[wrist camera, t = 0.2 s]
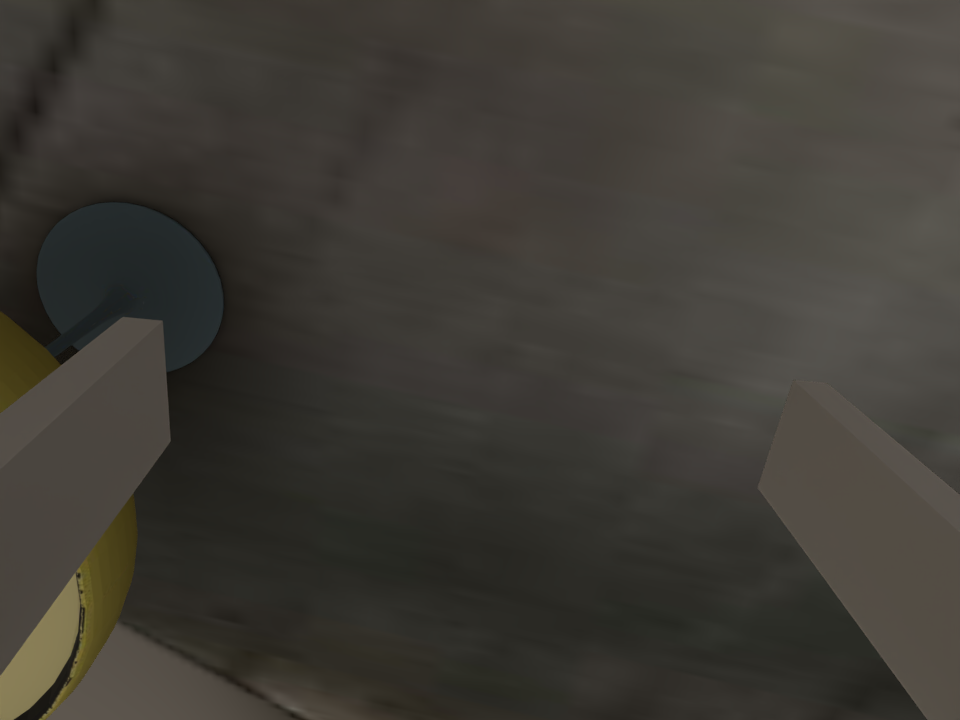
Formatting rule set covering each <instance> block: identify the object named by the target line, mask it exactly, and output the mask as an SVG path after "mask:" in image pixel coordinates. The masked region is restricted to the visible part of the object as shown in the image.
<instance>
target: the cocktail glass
mask: <svg viewBox="0 0 960 720" xmlns="http://www.w3.org/2000/svg"><path fill="white" fill-rule="evenodd" d="M37 285H38V290H39V294H40V298H41V301H42V303H43V306H44V308H45V311H46V313H47V314H48V316H49V318H50V319H51V321H52V323H53V324H54V326H55V327H56V328H57V330H58V331H59V332H60V333H61V336H59V337H58V338H57V339H55V340H54V341H53V342H51V343H50V344H49V345H47V346H46V347H45V348H44V347H43V346H42V345H41V344H40V343H39V342H37V341H36V340H35V339H34V338H33V337H31V336H30V335H29V334H28V333H27V332H25V331H24V330H23V329H22V328H21V327H20V326H18V325H17V324H16V323H15V322H14V321H12V320H11V319H10V318H9V317H8V316H6V315H5V314H3V313H2V312H0V413H1V412H3V411H4V410H5V409H7V408H8V407H9V406H10V405H12V404H13V403H14V402H15V401H17V400H18V399H19V398H20V397H22V396H23V395H24V394H26V393H27V392H28V391H29V390H31V389H32V388H33V387H34V386H36V385H37V384H38V383H39V382H41V381H42V380H43V379H45V378H46V377H47V376H48V375H50V374H51V373H52V372H53V371H55V370H56V369H57V368H58V367H60V366H61V364H60V363H59V362H58V361H57V360H56V359H55V357H56V356H57V355H59V354H60V353H61V352H63V351H64V350H65V349H67V348H68V347H70V346H71V345H72V346H73V347H75V348H76V349H77V350H79V351H80V350H81V349H83V348H84V347H85V346H86V345H88V344H89V343H90V342H91V341H93V340H94V339H95V338H97V337H98V336H99V335H100V334H102V333H103V332H104V331H105V330H107V329H108V328H109V327H110V326H112V325H113V324H114V323H116V322H117V321H118V320H119V319H121V318H122V317H129V318H140V319H150V320H161V321H163V331H164V347H165V362H166V372H169V371H172V370H175V369H179V368H181V367H183V366H185V365H187V364H189V363H191V362H193V361H194V360H195V359H196V358H198V357H199V356H200V355H202V354H203V353H204V351H205V350H206V349H207V348H208V347H209V346H210V345H211V343H212V341H213V340H214V338H215V336H216V334H217V333H218V330H219V327H220V324H221V321H222V317H223V310H224V294H223V289H222V284H221V280H220V277H219V274H218V271H217V269H216V266H215V265H214V263H213V261H212V259H211V257H210V256H209V254H208V252H207V251H206V250H205V248H204V247H203V246H202V245H201V243H200V242H199V241H198V240H197V239H196V238H195V237H194V236H193V235H192V234H191V233H190V232H189V231H188V230H187V229H185V228H184V227H183V226H181V225H180V224H179V223H177V222H176V221H175V220H173V219H171V218H169V217H168V216H166V215H164V214H162V213H160V212H158V211H155V210H153V209H150V208H147V207H145V206H140V205H136V204H131V203H122V202H107V203H97V204H94V205H90V206H86V207H83V208H80V209H78V210H76V211H74V212H72V213H70V214H69V215H67V216H66V217H64V218H63V219H62V220H60V221H59V222H58V223H57V224H56V225H55V226H54V228H53V229H52V230H51V231H50V232H49V234H48V236H47V237H46V239H45V241H44V242H43V244H42V247H41V250H40V253H39V256H38V263H37ZM136 546H137V523H136V513H135V503H134V496H133V494H132V495H131V497H130V498H129V499H128V501H127V502H126V504H125V505H124V506H123V508H122V509H121V510H120V512H119V513H118V515H117V516H116V517H115V519H114V520H113V521H112V523H111V524H110V526H109V527H108V528H107V530H106V531H105V532H104V534H103V535H102V537H101V538H100V539H99V541H98V542H97V544H96V545H95V546H94V548H93V549H92V550H91V552H90V553H89V555H88V556H87V557H86V559H85V560H84V561H83V563H82V564H81V566H80V567H79V568H78V570H77V571H76V572H75V574H74V575H73V577H72V578H71V579H70V581H69V582H68V583H67V585H66V586H65V588H64V589H63V590H62V592H61V593H60V595H59V596H58V597H57V599H56V600H55V601H54V603H53V604H52V606H51V607H50V608H49V610H48V611H47V612H46V614H45V615H44V617H43V618H42V619H41V621H40V622H39V623H38V625H37V626H36V628H35V629H34V630H33V632H32V633H31V634H30V636H29V637H28V639H27V640H26V641H25V643H24V644H23V646H22V647H21V648H20V650H19V651H18V652H17V654H16V655H15V657H14V658H13V659H12V661H11V662H10V663H9V665H8V666H7V668H6V669H5V670H4V672H3V673H2V674H1V676H0V720H46V719H47V718H48V717H49V716H50V715H51V714H52V713H53V711H55V710H56V709H57V707H58V706H59V705H60V704H61V703H62V702H63V701H64V700H65V699H66V698H67V697H68V696H69V695H70V694H71V693H72V692H73V690H74V689H75V688H76V687H77V685H78V684H79V683H80V682H81V680H82V679H83V677H84V676H85V674H86V673H87V671H88V670H89V668H90V667H91V665H92V663H93V662H94V660H95V659H96V657H97V655H98V653H99V652H100V651H101V649H102V647H103V646H104V644H105V643H106V641H107V639H108V638H109V636H110V634H111V632H112V631H113V629H114V627H115V625H116V622H117V620H118V618H119V616H120V613H121V610H122V607H123V604H124V601H125V598H126V595H127V592H128V590H129V587H130V584H131V581H132V576H133V572H134V564H135V555H136Z"/></svg>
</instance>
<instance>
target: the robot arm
mask: <svg viewBox="0 0 960 720" xmlns="http://www.w3.org/2000/svg"><path fill="white" fill-rule="evenodd" d="M170 442H171V438H170V423H169V408H168V393H167V377H166V362H165V347H164V331H163V321H161V320H150V319H140V318H129V317H122V318H121V319H119V320H118V321H117V322H116V323H114V324H113V325H112V326H110V327H109V328H108V329H107V330H105V331H104V332H103V333H102V334H100V335H99V336H98V337H97V338H95V339H94V340H93V341H91V342H90V343H89V344H88V345H86V346H85V347H84V348H83V349H81V350H80V351H79V352H78V353H76V354H75V355H74V356H72V357H71V358H70V359H69V360H67V361H66V362H65V363H64V364H62V365H61V366H60V367H58V368H57V369H56V370H55V371H53V372H52V373H51V374H50V375H48V376H47V377H46V378H45V379H43V380H42V381H41V382H39V383H38V384H37V385H36V386H34V387H33V388H32V389H31V390H29V391H28V392H27V393H26V394H24V395H23V396H22V397H20V398H19V399H18V400H17V401H15V402H14V403H13V404H12V405H10V406H9V407H8V408H7V409H5V410H4V411H3V412H1V413H0V676H1V674H2V673H3V672H4V670H5V669H6V668H7V666H8V665H9V663H10V662H11V661H12V659H13V658H14V657H15V655H16V654H17V652H18V651H19V650H20V648H21V647H22V646H23V644H24V643H25V641H26V640H27V639H28V637H29V636H30V634H31V633H32V632H33V630H34V629H35V628H36V626H37V625H38V623H39V622H40V621H41V619H42V618H43V617H44V615H45V614H46V612H47V611H48V610H49V608H50V607H51V606H52V604H53V603H54V601H55V600H56V599H57V597H58V596H59V595H60V593H61V592H62V590H63V589H64V588H65V586H66V585H67V583H68V582H69V581H70V579H71V578H72V577H73V575H74V574H75V572H76V571H77V570H78V568H79V567H80V566H81V564H82V563H83V561H84V560H85V559H86V557H87V556H88V555H89V553H90V552H91V550H92V549H93V548H94V546H95V545H96V544H97V542H98V541H99V539H100V538H101V537H102V535H103V534H104V532H105V531H106V530H107V528H108V527H109V526H110V524H111V523H112V521H113V520H114V519H115V517H116V516H117V515H118V513H119V512H120V510H121V509H122V508H123V506H124V505H125V504H126V502H127V501H128V499H129V498H130V497H131V495H132V494H133V493H134V491H135V490H136V488H137V487H138V486H139V484H140V483H141V481H142V480H143V479H144V477H145V476H146V475H147V473H148V472H149V470H150V469H151V468H152V466H153V465H154V464H155V462H156V461H157V459H158V458H159V457H160V455H161V454H162V453H163V451H164V450H165V448H166V447H167V446H168V444H169V443H170ZM758 489H759V490H760V491H761V493H762V494H763V496H764V497H765V498H766V500H767V501H768V502H769V504H770V505H771V507H772V508H773V509H774V511H775V512H776V513H777V515H778V516H779V517H780V519H781V520H782V522H783V523H784V524H785V526H786V527H787V528H788V530H789V531H790V532H791V534H792V535H793V537H794V538H795V539H796V541H797V542H798V543H799V545H800V546H801V548H802V549H803V550H804V552H805V553H806V554H807V556H808V557H809V558H810V560H811V561H812V563H813V564H814V565H815V567H816V568H817V569H818V571H819V572H820V573H821V575H822V576H823V578H824V579H825V580H826V582H827V583H828V584H829V586H830V587H831V589H832V590H833V591H834V593H835V594H836V595H837V597H838V598H839V599H840V601H841V602H842V604H843V605H844V606H845V608H846V609H847V610H848V612H849V613H850V614H851V616H852V617H853V619H854V620H855V621H856V623H857V624H858V625H859V627H860V628H861V630H862V631H863V632H864V634H865V635H866V636H867V638H868V639H869V640H870V642H871V643H872V645H873V646H874V647H875V649H876V650H877V651H878V653H879V654H880V656H881V657H882V658H883V660H884V661H885V662H886V664H887V665H888V666H889V668H890V669H891V671H892V672H893V673H894V675H895V676H896V677H897V679H898V680H899V681H900V683H901V684H902V686H903V687H904V688H905V690H906V691H907V692H908V694H909V695H910V697H911V698H912V699H913V701H914V702H915V703H916V705H917V706H918V707H919V709H920V710H921V712H922V713H923V714H924V716H925V717H926V718H927V720H960V495H959V494H958V493H957V492H956V491H954V490H953V489H952V488H951V487H950V486H948V485H947V484H946V483H945V482H944V481H943V480H941V479H940V478H939V477H938V476H937V475H935V474H934V473H933V472H932V471H931V470H929V469H928V468H927V467H926V466H925V465H924V464H922V463H921V462H920V461H919V460H918V459H916V458H915V457H914V456H913V455H912V454H911V453H909V452H908V451H907V450H906V449H905V448H903V447H902V446H901V445H900V444H899V443H897V442H896V441H895V440H894V439H893V438H892V437H890V436H889V435H888V434H887V433H886V432H884V431H883V430H882V429H881V428H880V427H879V426H877V425H876V424H875V423H874V422H873V421H871V420H870V419H869V418H868V417H867V416H865V415H864V414H863V413H862V412H861V411H860V410H858V409H857V408H856V407H855V406H854V405H852V404H851V403H850V402H849V401H848V400H847V399H845V398H844V397H843V396H842V395H841V394H839V393H838V392H837V391H836V390H835V389H833V388H832V387H831V386H830V385H829V384H828V383H821V382H811V381H800V380H793V382H792V385H791V388H790V391H789V394H788V397H787V400H786V403H785V406H784V409H783V412H782V415H781V418H780V421H779V425H778V428H777V431H776V434H775V437H774V440H773V443H772V446H771V449H770V452H769V455H768V458H767V461H766V464H765V467H764V470H763V473H762V476H761V479H760V482H759V485H758Z"/></svg>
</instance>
